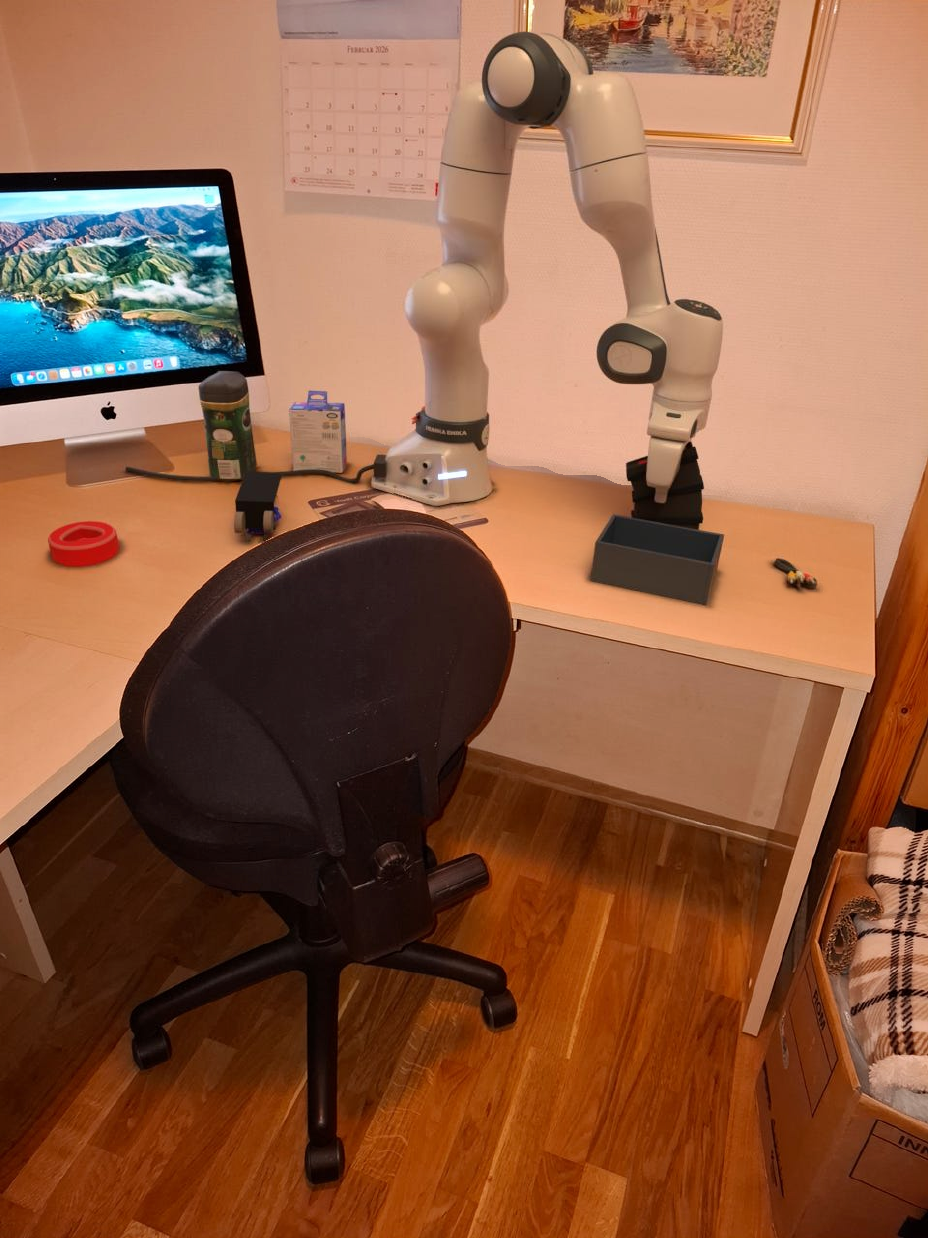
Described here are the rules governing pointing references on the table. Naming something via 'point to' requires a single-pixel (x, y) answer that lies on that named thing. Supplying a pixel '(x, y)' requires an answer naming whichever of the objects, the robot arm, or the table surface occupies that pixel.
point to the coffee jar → (227, 425)
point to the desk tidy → (657, 558)
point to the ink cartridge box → (318, 434)
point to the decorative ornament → (83, 543)
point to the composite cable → (796, 575)
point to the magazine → (669, 493)
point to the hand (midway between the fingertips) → (663, 495)
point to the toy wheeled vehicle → (257, 504)
